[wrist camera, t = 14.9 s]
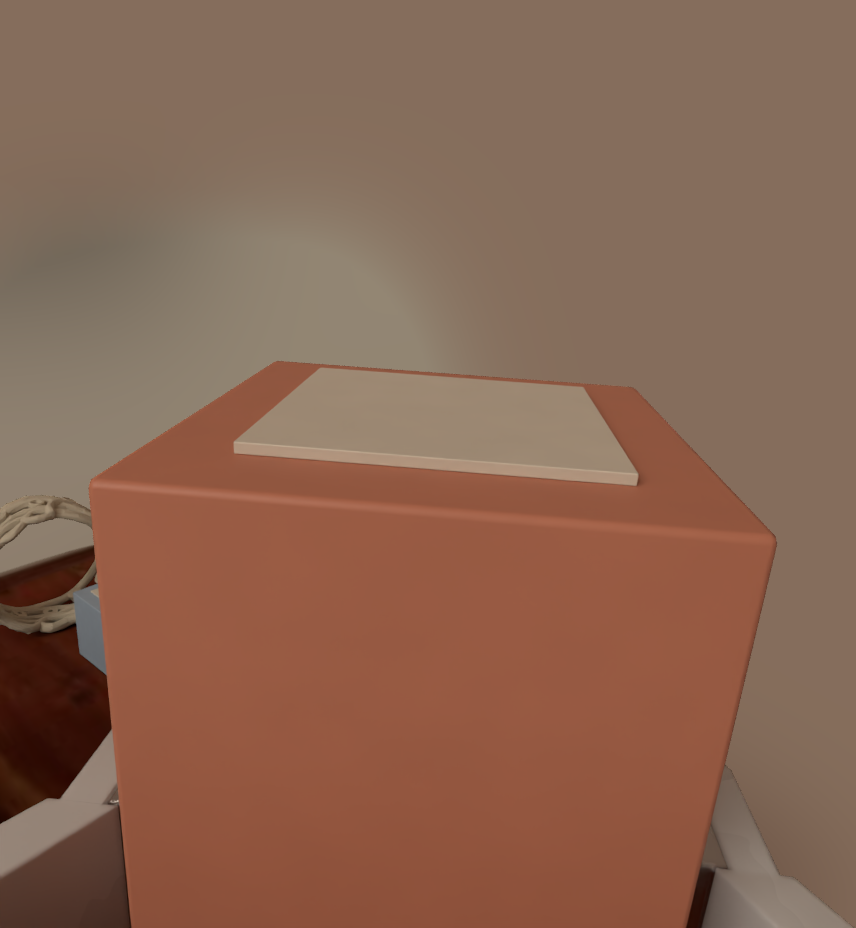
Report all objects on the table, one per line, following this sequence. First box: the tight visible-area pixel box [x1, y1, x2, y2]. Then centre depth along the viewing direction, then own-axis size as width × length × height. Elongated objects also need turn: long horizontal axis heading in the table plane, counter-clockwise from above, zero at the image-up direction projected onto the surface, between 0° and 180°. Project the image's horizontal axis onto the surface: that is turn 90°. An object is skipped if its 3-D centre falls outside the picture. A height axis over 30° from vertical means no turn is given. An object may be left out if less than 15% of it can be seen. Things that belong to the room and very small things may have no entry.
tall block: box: [89, 361, 777, 928], centre depth 9 cm, size 4×4×12 cm
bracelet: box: [0, 495, 98, 634], centre depth 43 cm, size 4×8×8 cm, turn 133°
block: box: [73, 584, 107, 675], centre depth 41 cm, size 4×4×4 cm
